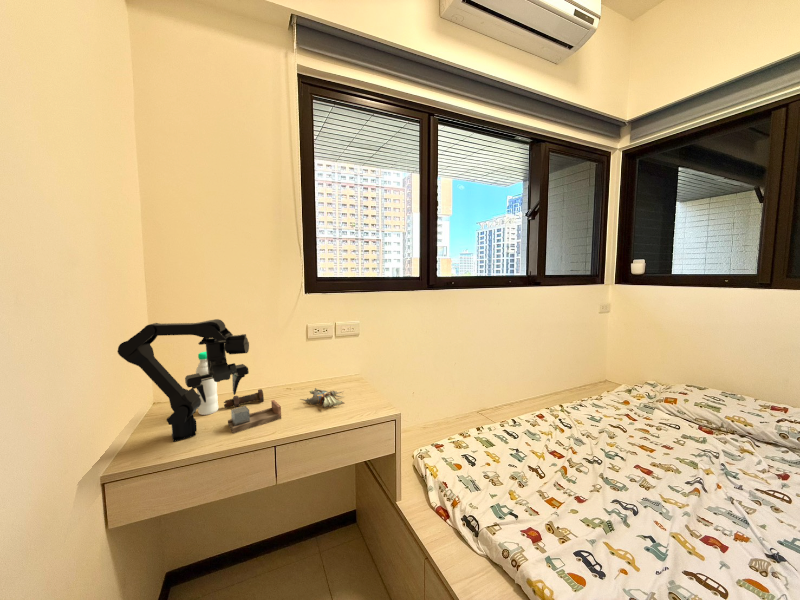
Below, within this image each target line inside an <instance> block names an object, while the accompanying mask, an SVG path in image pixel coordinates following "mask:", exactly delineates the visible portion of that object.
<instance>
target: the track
mask: <svg viewBox="0 0 800 600" xmlns="http://www.w3.org/2000/svg"><path fill="white" fill-rule="evenodd" d="M270 402H271V403H270V404H271V407H269V408H266V409H261V410H259V411H255V412H250V422H248V423H244V424H241V425H238V426H234V425H233V423H232V418H230V419H227V425H228V428H229V429H230V431H231V432H232V434H236V433H240V432H243V431H245V430H249V429H253V428H255V427H258V426H262V425H266V424H268V423H271V422H274V421H279V420H282V406H281V405H280V404H279V403H278V402H277V401H275V399H272V400H271V401H270Z"/></svg>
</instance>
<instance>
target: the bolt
mask: <svg viewBox="0 0 800 600" xmlns="http://www.w3.org/2000/svg"><path fill="white" fill-rule="evenodd" d="M264 401H265V399H264V392H263V389H261V388H259V389H258V390H257V392H254V393H251V394H247V395H243V396H238V395H233V397H232V398H230V399H226V400H225V401H223V406H224V407H223V408H225V409H226V408H231V407H233V408H234V409H235V408H239V407H240V405H243V404H247V403H251V402H259V404H260V403H263V402H264Z"/></svg>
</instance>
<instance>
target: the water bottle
mask: <svg viewBox="0 0 800 600" xmlns="http://www.w3.org/2000/svg"><path fill="white" fill-rule="evenodd" d="M197 355H198V356H197V357H198V360H199V363H198V365H197V367H196V370H195V374H197V373H199V374H200V376H201V375H206V374H208V364H207V353H206V351H202V352H199V353H198V354H197ZM202 385H203V389H204V393H205V397H206V402H204V400H203V399H202V397H201V395H200V393H199V391H198V390H197V389H196V391H197V392H196V393H197V394H198V395H200V397H199V398H200V399H201V405H200V407H199V408H198V409H197V410H198V411H197V412H198V414H199V415H201V416H208V415H212V414H214V413H216V412H217V411H218V410H219V402H218V401H219V400H218V399H219V397H218V382H215V381H214V379H209V380H204V381H202Z"/></svg>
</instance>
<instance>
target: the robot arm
mask: <svg viewBox="0 0 800 600" xmlns="http://www.w3.org/2000/svg"><path fill="white" fill-rule="evenodd" d="M158 336H196V337H199V338H202V339H201V340H200V341H198V345H199V346H200V345H205V352H206V353H207V364H208V374H206V375H201V376H200V374H199V373H197V374H196V373H192V374H188V375H186V376H185V377H184V380H185V385H186V387H187V388H190V389H186V388H184V387H183V386H182V385H181V384H180V383H179V382H178V381H177V380H176V378H174V377H173V376H172V374H170V372H169V371H168V370H167V369H166V368H165V367H164V365H162V363H160V361H159V360H158V359H157V358H156V356H155V353H154V349H153V347H152V345H151V344H152V343H153V342H154V341H155V340H156V339H157V337H158ZM249 349H250V342H249V340H248V337H247V334H246V333H245V334H244V333H242V334H237V335H234V334H233V333H232V332H231V331H230V330H229V329H228V328H227V327H226V324H225V323H224V322H223V320H221V319H219V318H217V319H209V320H203V321H200V322H199V321H198V322H188V323H187V322H182V323H181V322H178V323H177V322H176V323H175V322H174V323H160V322H159V323H158V322H154V323H150V324H147V325H145V326H144V328H142V329H141V330H140V331H139V332H137V333H136V334H135V335H132V337H130V338H129V339H128V340H126V341H122V342H121V343H120V344H118V347H117V350H116V351H117V354H118V355H119V357H121V358H122V359H123V360H125V361H126V362H127V363H128V364H129V363H130V364H132V365H135V366H137V367H139V368H140V369H141V370H142V372H143V373H145V374H146V376H148V378H149V379H150V380H151V381H152V382H153V383H154V384H155V385H156V386H157V387H158V388H159V390H161V391H162V393H163V394H165V396H166V397H167V398H168V399H169V406H170V408H171V410H172V411H173V413H171V414H170V415H169V416H168V417H167V418H166V422H167V423H168V425H169V426H170V425H171V438H172V442H173V443H175V442H178V441H183V440H186V439H188V438H189V439H190V438H193V437H195V436H197V433H196V432H197V430H198V429H197V419H196V418H195V417H194V414H195V413H196V412H197V410H198V408H199V407H200V405H201V399H200V398H199V397H200V395H201V397H202V399H203V400H204V402H206V397H205V393H204V389H203V385H202V381H204V380H209V379H214V381H215V382H217V383H220V382H222V381H227V380H228V381H229V380H230V379H231V376H232V394H233V396H236V393H237V390H238V386H239V383H240V381H241V380H242V378H245V377H246V375H248V374H250V373H249V371H250V370H249V367H248V366H247V365H245V364H243V363H241V364H236V363H234V362H233V363H229V364H228V362H227V361H228V360H227V354H228V355H241V354H248V353H249V351H250V350H249ZM195 389H196V390H195ZM197 390H198V391H199V393H200V395H198V393H197V392H196V391H197Z"/></svg>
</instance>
